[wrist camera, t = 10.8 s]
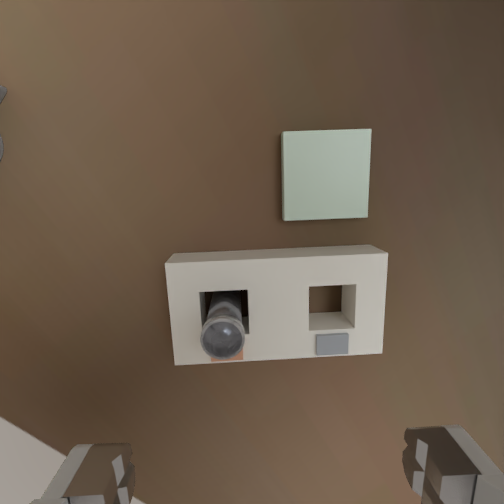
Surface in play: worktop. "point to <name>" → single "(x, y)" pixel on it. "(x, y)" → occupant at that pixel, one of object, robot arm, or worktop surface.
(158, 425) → the worktop surface
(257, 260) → the socket board
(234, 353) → the plug
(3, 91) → the toy
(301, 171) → the pale green square tile
